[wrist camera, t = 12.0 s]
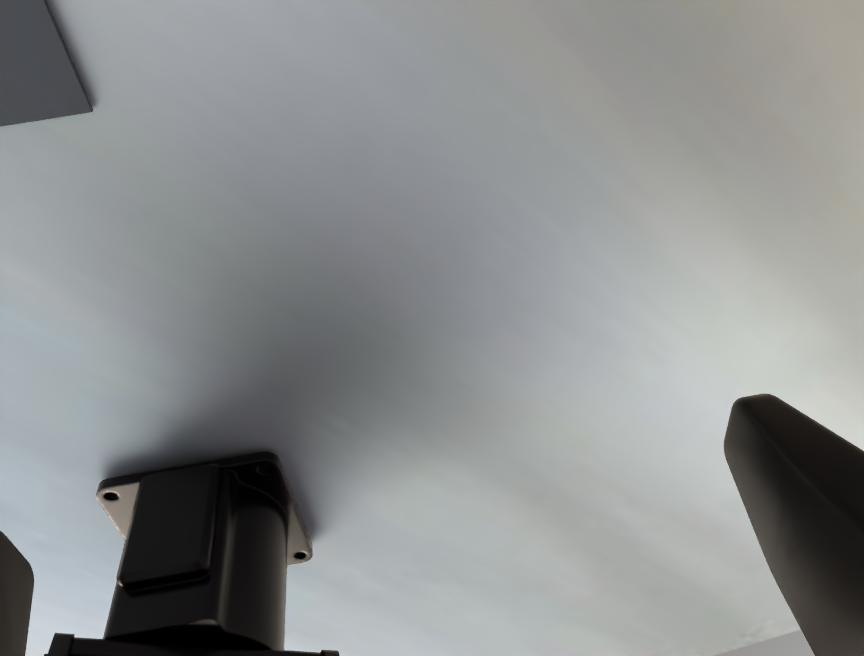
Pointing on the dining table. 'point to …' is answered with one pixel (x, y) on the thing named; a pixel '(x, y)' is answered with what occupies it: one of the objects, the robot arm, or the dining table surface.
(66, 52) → the slate mat
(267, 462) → the robot arm
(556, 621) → the dining table surface
